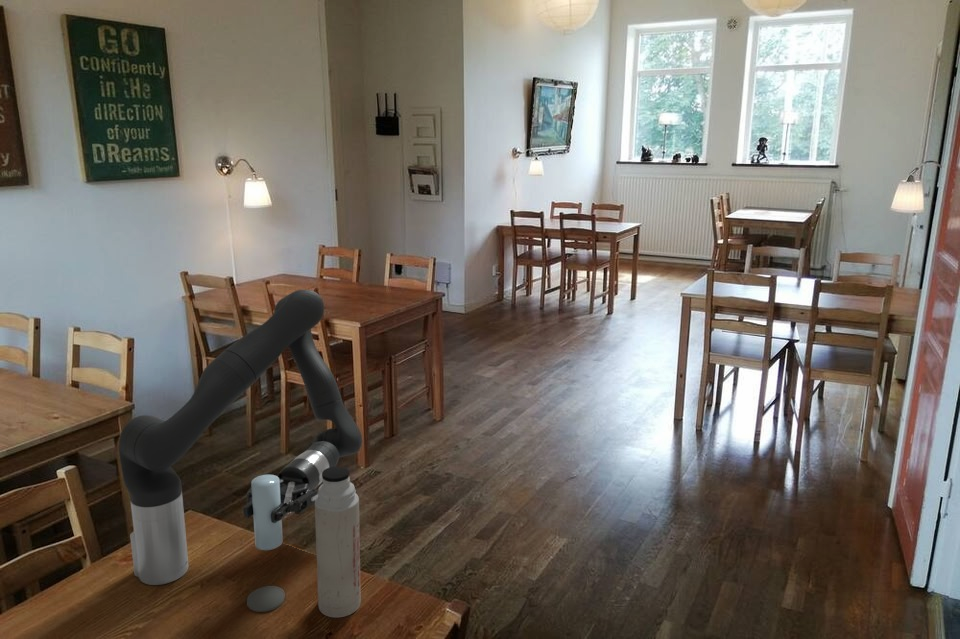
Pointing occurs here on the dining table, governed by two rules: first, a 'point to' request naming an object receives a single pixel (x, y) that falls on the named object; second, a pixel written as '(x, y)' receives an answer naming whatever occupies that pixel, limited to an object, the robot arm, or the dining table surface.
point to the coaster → (265, 599)
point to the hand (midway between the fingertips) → (259, 515)
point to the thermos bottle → (337, 544)
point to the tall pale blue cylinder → (266, 511)
